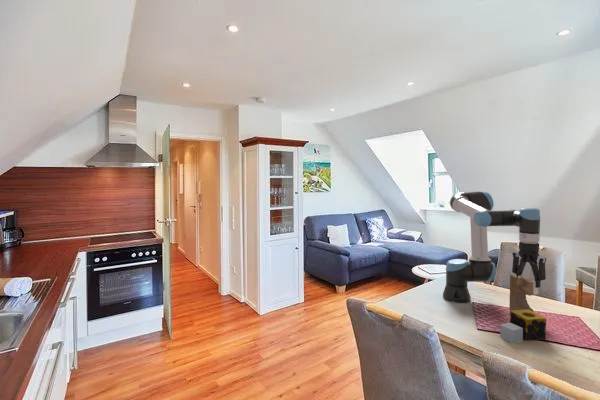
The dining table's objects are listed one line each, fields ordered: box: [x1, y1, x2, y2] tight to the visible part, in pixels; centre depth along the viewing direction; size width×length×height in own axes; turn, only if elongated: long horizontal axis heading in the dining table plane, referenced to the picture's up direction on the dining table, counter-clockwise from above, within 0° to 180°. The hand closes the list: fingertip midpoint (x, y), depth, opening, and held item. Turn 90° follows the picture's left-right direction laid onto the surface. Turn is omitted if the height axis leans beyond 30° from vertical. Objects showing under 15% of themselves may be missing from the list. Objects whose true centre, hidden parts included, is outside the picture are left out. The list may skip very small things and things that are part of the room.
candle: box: [509, 309, 547, 341], centre depth 145 cm, size 10×10×10 cm
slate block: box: [499, 322, 524, 344], centre depth 142 cm, size 6×6×6 cm
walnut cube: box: [517, 276, 540, 297], centre depth 144 cm, size 6×6×6 cm
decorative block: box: [509, 274, 534, 312], centre depth 166 cm, size 11×6×20 cm, turn 177°
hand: (527, 291), depth 144 cm, fingers closed on walnut cube, 6 cm apart
